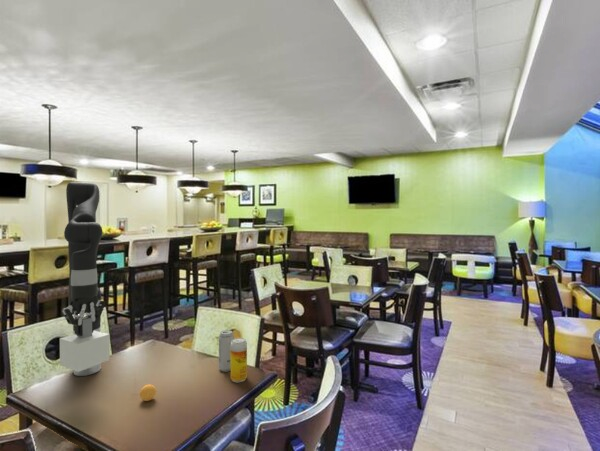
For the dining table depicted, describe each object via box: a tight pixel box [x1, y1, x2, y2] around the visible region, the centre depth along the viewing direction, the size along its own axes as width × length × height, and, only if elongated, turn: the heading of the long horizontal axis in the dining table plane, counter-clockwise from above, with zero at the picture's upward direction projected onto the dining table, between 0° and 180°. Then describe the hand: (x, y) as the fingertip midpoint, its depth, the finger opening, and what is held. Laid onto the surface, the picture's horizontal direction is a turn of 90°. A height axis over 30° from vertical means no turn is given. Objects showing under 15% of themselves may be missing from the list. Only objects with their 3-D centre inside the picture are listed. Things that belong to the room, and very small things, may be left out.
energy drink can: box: [218, 329, 235, 373], centre depth 139 cm, size 6×6×15 cm
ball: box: [139, 384, 157, 402], centre depth 115 cm, size 5×5×5 cm
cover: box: [59, 316, 110, 372], centre depth 114 cm, size 10×10×15 cm
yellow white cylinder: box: [230, 337, 248, 383], centre depth 130 cm, size 6×6×15 cm
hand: (84, 333), depth 114 cm, fingers closed on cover, 3 cm apart
